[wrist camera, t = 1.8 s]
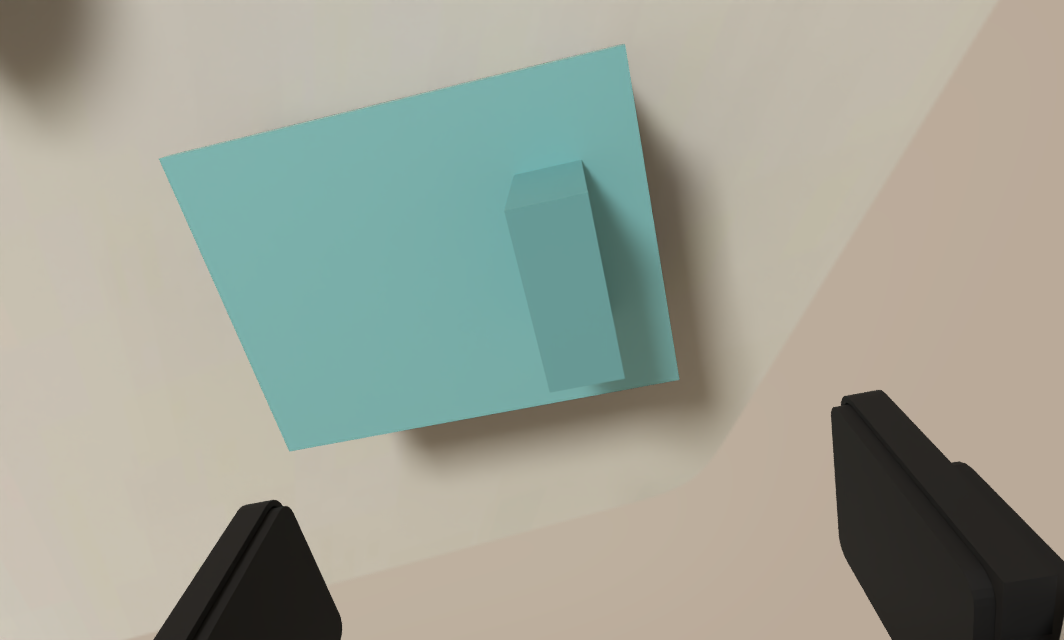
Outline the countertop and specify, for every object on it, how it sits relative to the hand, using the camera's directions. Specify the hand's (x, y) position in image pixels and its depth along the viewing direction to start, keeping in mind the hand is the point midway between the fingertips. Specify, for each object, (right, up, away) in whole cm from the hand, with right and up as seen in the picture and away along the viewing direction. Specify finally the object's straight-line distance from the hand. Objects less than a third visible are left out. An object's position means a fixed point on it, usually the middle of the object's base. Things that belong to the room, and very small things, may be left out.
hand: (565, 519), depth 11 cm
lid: (-4, +6, +15) cm, 17 cm away
